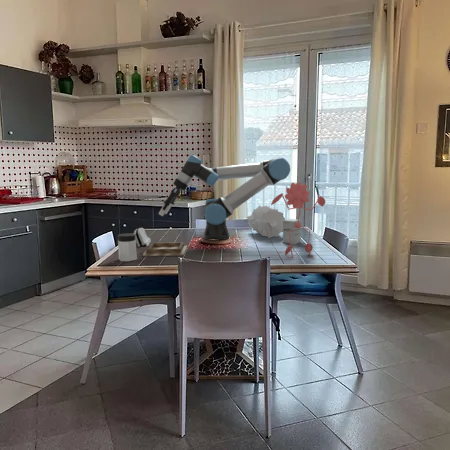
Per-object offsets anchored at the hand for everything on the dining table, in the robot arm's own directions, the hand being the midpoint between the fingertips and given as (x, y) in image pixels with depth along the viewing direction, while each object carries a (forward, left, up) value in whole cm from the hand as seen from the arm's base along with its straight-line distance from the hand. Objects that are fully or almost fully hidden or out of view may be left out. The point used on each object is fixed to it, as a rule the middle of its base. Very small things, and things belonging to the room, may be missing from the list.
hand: (162, 214), depth 241 cm
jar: (+12, +36, -17) cm, 42 cm away
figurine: (-69, +31, -17) cm, 78 cm away
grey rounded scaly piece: (-59, -21, -17) cm, 65 cm away
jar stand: (-4, +20, -17) cm, 27 cm away
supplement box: (-71, +2, -17) cm, 73 cm away
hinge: (+12, -1, -17) cm, 21 cm away
